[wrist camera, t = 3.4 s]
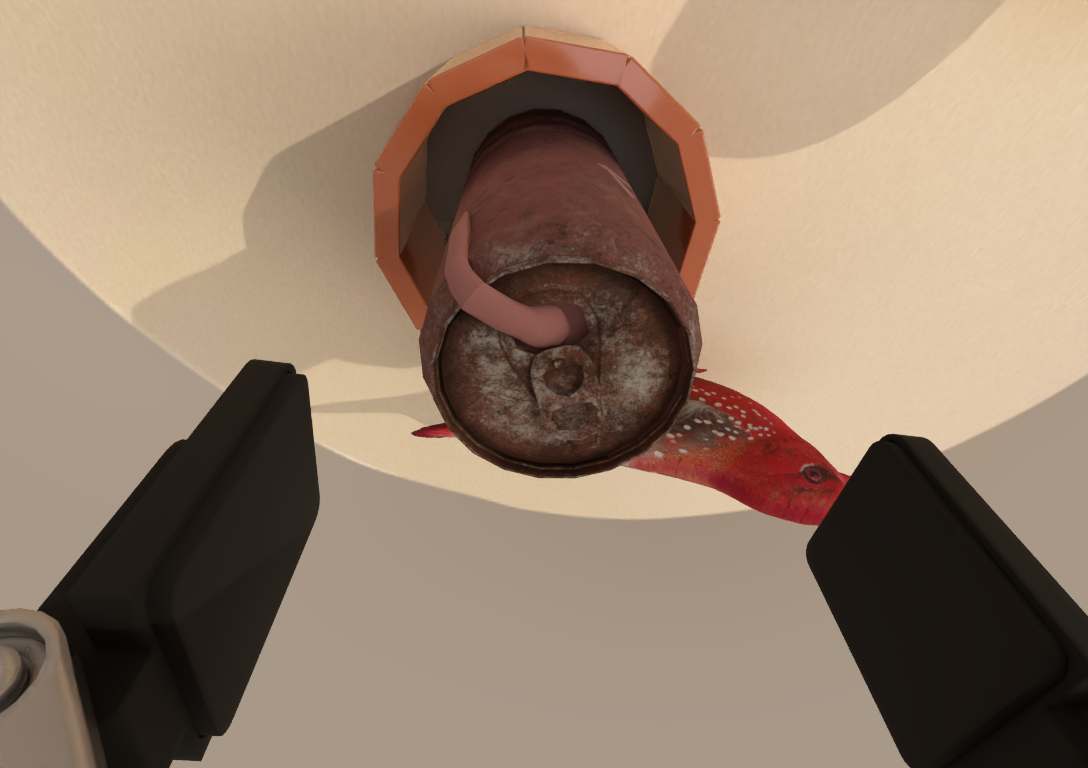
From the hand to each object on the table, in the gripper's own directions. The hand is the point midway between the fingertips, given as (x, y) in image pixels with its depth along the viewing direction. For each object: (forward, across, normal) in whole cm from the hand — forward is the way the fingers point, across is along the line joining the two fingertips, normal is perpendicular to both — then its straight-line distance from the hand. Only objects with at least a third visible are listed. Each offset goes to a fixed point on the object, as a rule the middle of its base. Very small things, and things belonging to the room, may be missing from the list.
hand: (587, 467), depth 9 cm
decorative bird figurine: (+17, -4, +8) cm, 19 cm away
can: (+16, +1, 0) cm, 17 cm away
